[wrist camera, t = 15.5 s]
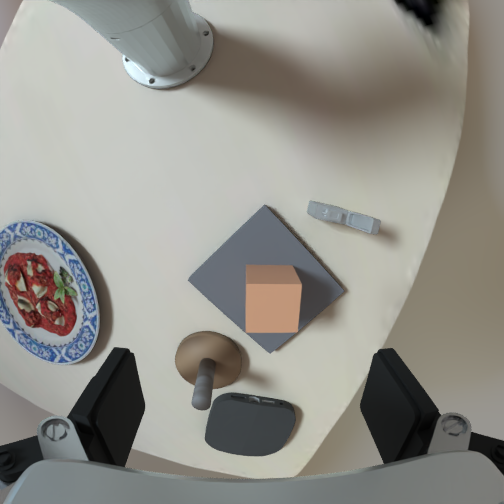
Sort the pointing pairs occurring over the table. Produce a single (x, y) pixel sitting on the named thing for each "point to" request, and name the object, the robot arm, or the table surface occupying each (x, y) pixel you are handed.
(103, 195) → the table surface
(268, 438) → the media streaming box
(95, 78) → the table surface
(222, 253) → the mat
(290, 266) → the peach cube block
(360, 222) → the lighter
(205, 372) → the round pedestal stand
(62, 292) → the ceramic plate
